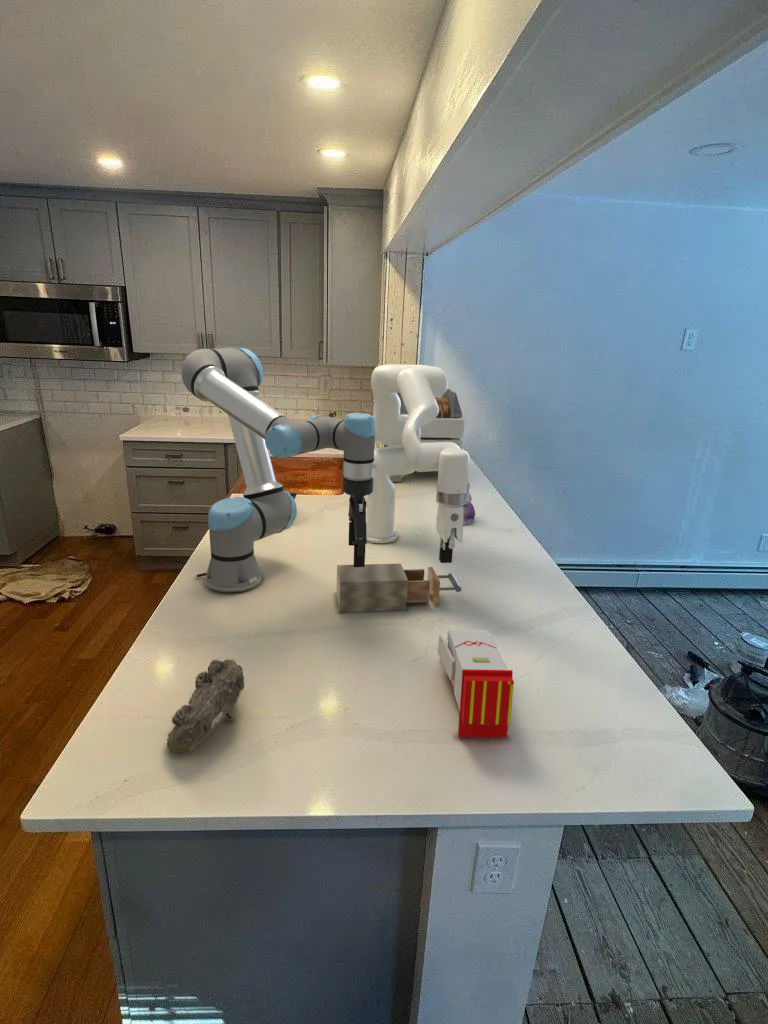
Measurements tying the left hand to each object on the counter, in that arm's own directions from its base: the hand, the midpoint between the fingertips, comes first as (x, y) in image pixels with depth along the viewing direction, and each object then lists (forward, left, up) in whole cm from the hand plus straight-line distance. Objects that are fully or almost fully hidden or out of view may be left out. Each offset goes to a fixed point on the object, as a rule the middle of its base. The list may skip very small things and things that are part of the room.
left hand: (356, 555), depth 148 cm
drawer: (+16, +6, -13) cm, 21 cm away
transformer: (-5, +132, -14) cm, 133 cm away
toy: (+33, -30, -14) cm, 47 cm away
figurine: (+22, +72, -14) cm, 77 cm away
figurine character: (-42, +54, -14) cm, 70 cm away
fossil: (-14, -51, -14) cm, 55 cm away
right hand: (+22, +9, -2) cm, 24 cm away
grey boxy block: (+4, +2, -14) cm, 14 cm away
